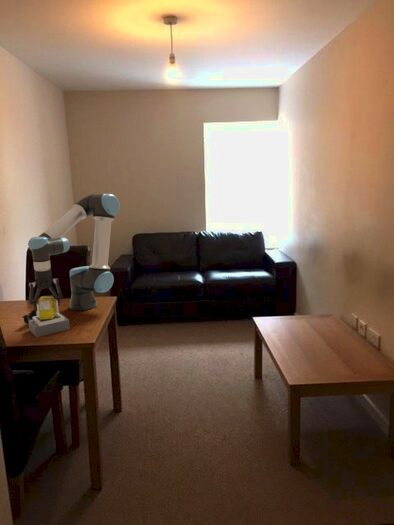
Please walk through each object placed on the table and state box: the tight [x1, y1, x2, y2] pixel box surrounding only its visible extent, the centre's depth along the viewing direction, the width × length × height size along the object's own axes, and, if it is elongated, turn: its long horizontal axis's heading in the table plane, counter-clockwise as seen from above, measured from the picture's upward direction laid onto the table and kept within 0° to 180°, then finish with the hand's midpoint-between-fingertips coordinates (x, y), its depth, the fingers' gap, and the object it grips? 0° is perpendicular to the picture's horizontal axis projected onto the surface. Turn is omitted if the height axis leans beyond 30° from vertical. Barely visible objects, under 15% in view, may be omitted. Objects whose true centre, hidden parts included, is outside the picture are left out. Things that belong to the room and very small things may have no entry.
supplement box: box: [37, 295, 56, 321], centre depth 206 cm, size 6×6×11 cm
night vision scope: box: [21, 309, 40, 325], centre depth 221 cm, size 8×18×10 cm
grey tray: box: [28, 312, 71, 338], centre depth 208 cm, size 16×12×6 cm
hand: (47, 314), depth 207 cm, fingers open, 8 cm apart
